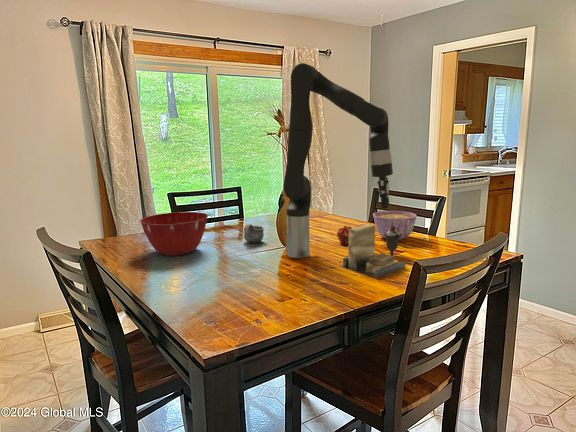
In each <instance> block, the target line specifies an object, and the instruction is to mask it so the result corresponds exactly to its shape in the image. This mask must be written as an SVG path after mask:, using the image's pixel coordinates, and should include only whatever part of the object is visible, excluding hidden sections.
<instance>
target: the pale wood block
mask: <svg viewBox="0 0 576 432" xmlns="http://www.w3.org/2000/svg"><path fill="white" fill-rule="evenodd" d="M375 243H376V226H375V225H372V224H365V225H362V226H356V227H352V229H349V243H348V257H349V259H348V266H349V267H352V268H354V261H356V260H360V259H363V258H366V257H370V256H373V255H375V252H376V251H375V249H376V247H375Z"/></svg>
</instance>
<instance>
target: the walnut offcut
mask: <svg viewBox="0 0 576 432" xmlns="http://www.w3.org/2000/svg"><path fill="white" fill-rule="evenodd" d="M375 255H376V254H375ZM394 260H395V255H394V256H392V255H390V254H386V253H379V254H378V255H376V256H374V257H372V258H370V264H372V265H377V266H381V267H383V266H385V265H387V264H389V263H391V262H393V261H394Z"/></svg>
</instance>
